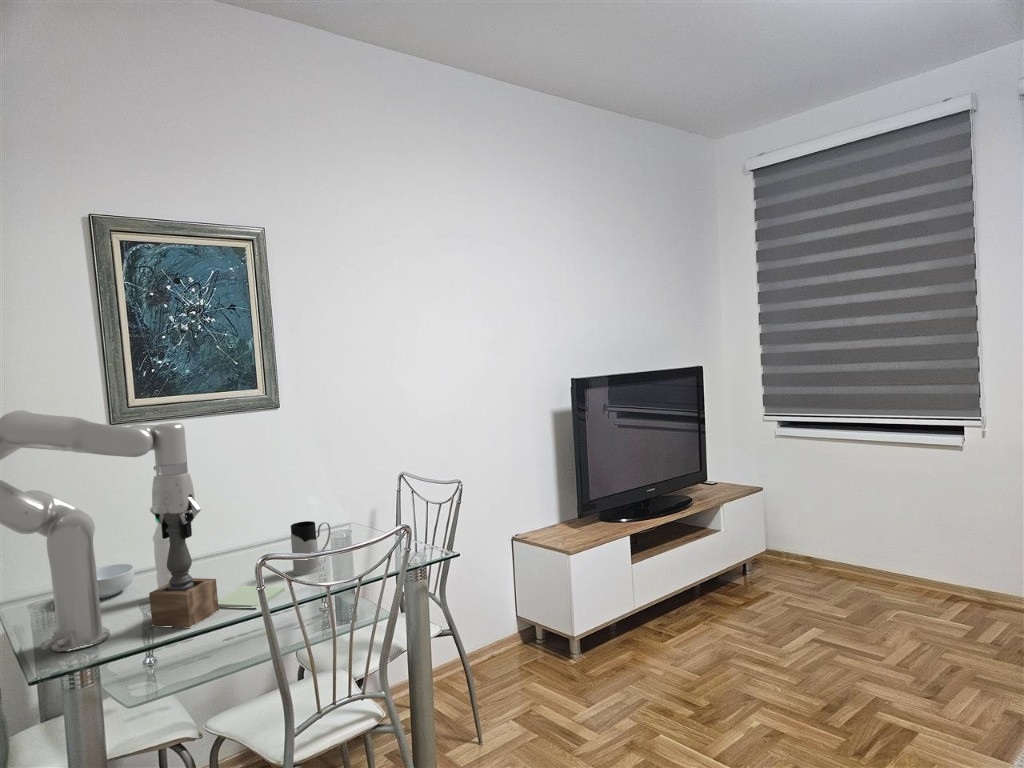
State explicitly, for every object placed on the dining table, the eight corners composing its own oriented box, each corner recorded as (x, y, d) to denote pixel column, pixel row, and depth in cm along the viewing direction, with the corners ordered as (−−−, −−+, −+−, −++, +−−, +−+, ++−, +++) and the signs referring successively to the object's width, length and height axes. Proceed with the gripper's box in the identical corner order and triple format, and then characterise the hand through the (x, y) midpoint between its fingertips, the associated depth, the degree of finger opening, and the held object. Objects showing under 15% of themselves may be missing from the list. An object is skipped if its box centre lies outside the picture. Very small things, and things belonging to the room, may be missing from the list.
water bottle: (174, 599, 203) (166, 514, 201) (153, 599, 204) (144, 515, 203) (190, 590, 210) (182, 508, 208) (169, 590, 211) (161, 509, 210)
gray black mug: (286, 572, 222) (282, 525, 221) (324, 560, 232) (321, 515, 232) (302, 577, 216) (298, 529, 215) (340, 564, 227) (337, 518, 226)
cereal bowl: (141, 593, 210) (139, 570, 210) (76, 609, 200) (74, 585, 199) (130, 581, 223) (128, 559, 223) (69, 595, 213) (66, 572, 213)
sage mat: (256, 609, 191) (256, 605, 191) (212, 607, 194) (212, 603, 194) (285, 590, 204) (284, 587, 204) (243, 589, 208) (242, 586, 208)
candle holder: (199, 595, 187) (192, 503, 186) (177, 603, 182) (170, 508, 181) (185, 592, 191) (178, 501, 189) (164, 599, 185) (156, 506, 184)
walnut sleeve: (189, 628, 180) (186, 594, 179) (152, 626, 183) (149, 593, 182) (218, 611, 191) (215, 578, 191) (182, 609, 194) (179, 577, 193)
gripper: (134, 472, 183) (139, 541, 184) (189, 472, 179) (195, 542, 180) (155, 467, 190) (160, 533, 191) (209, 467, 186) (214, 534, 187)
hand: (177, 536), depth 186 cm, fingers closed on candle holder, 5 cm apart
